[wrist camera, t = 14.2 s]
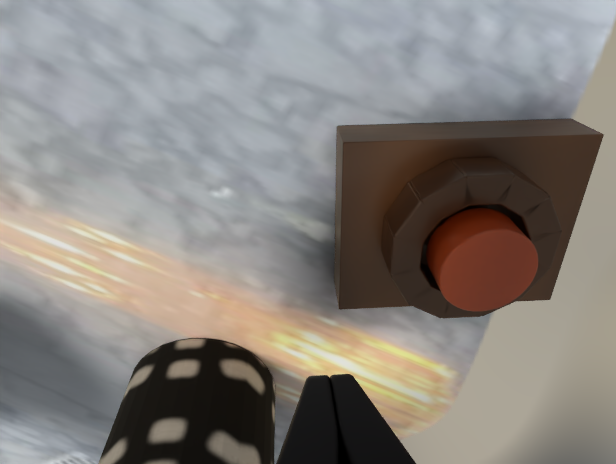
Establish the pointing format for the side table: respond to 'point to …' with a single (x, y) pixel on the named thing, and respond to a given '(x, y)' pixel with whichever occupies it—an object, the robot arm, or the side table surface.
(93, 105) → the side table surface
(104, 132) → the side table surface
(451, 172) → the button block
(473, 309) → the button
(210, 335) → the side table surface
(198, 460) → the spotted black cylinder
